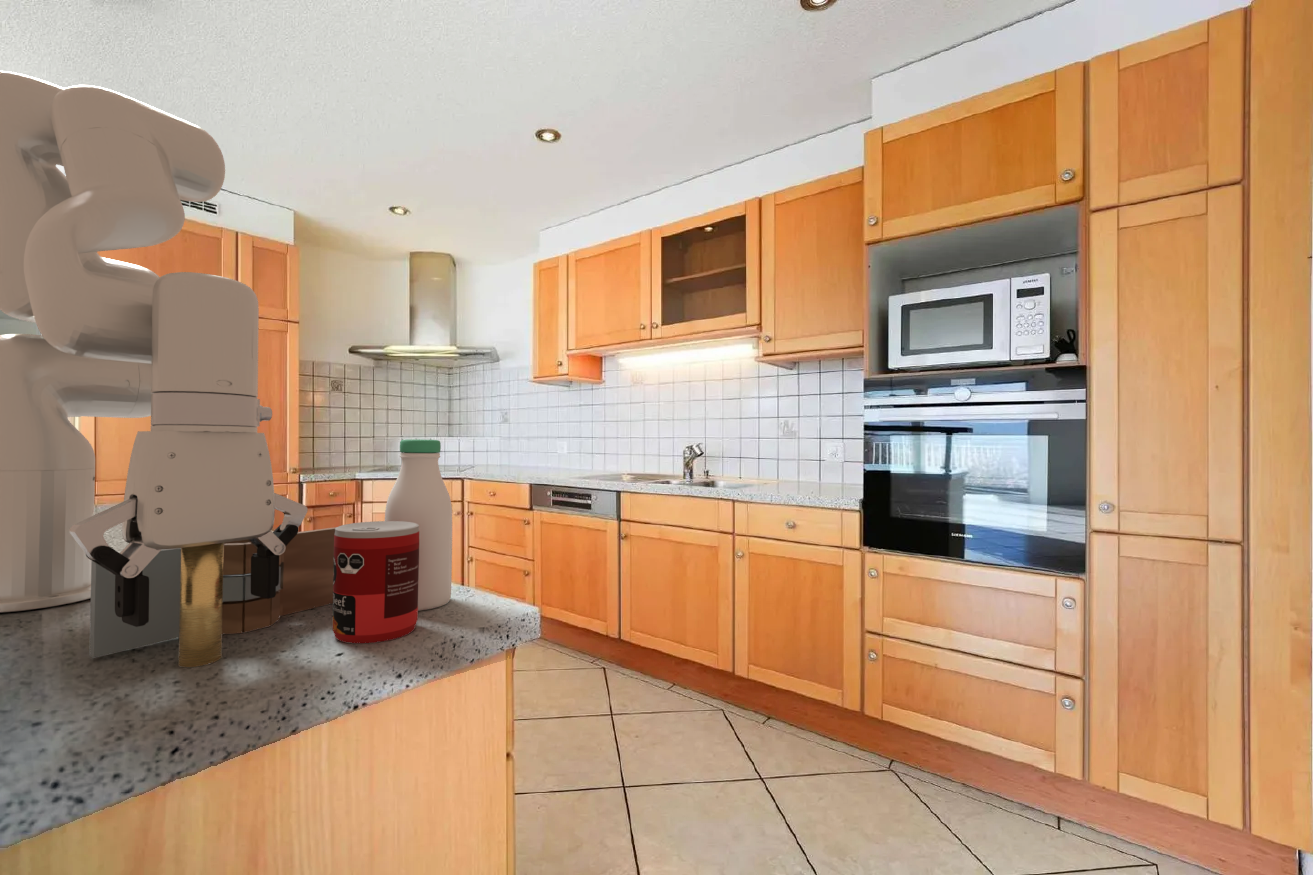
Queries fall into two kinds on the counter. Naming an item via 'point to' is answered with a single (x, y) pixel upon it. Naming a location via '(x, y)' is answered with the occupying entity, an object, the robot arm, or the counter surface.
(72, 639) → the counter surface
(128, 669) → the counter surface
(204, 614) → the hinge pin
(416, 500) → the milk bottle
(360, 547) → the canned food
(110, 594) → the hinge leaf swing
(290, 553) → the hinge leaf fixed
